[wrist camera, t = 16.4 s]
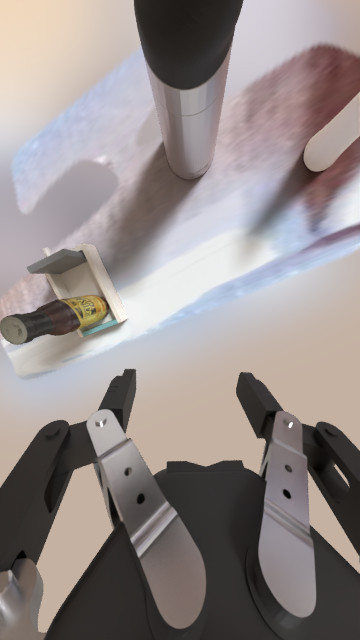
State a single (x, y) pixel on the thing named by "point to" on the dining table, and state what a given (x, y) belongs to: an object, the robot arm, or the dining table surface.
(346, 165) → the dining table surface
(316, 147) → the cosmetic bottle
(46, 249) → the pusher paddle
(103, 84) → the dining table surface
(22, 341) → the sauce bottle
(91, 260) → the pusher lane
